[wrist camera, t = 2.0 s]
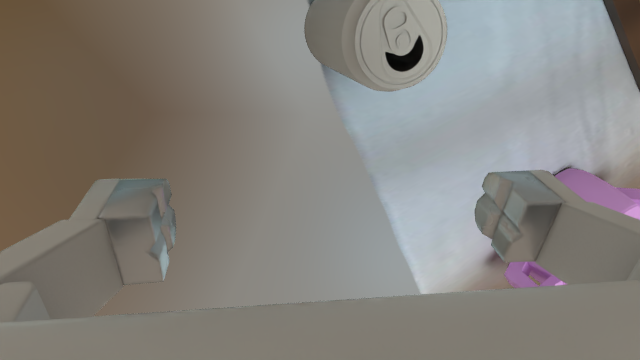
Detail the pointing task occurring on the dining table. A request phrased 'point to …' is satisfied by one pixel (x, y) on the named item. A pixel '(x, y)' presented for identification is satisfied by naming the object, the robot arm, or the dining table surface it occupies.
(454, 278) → the dining table surface
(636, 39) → the board
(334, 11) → the beverage can
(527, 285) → the teapot
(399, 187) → the dining table surface
